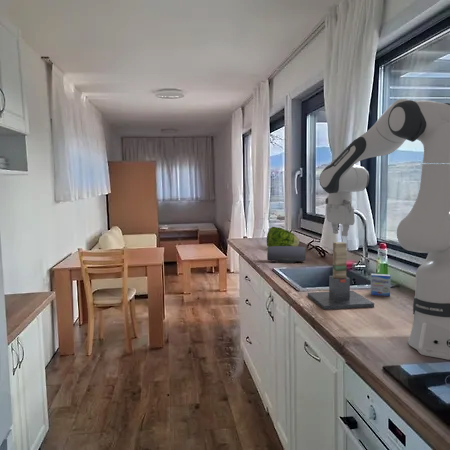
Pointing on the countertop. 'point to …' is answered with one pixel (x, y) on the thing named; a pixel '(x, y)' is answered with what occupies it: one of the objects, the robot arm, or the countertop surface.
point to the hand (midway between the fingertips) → (339, 234)
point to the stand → (339, 296)
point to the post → (339, 259)
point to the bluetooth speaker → (286, 254)
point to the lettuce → (281, 237)
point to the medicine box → (380, 284)
